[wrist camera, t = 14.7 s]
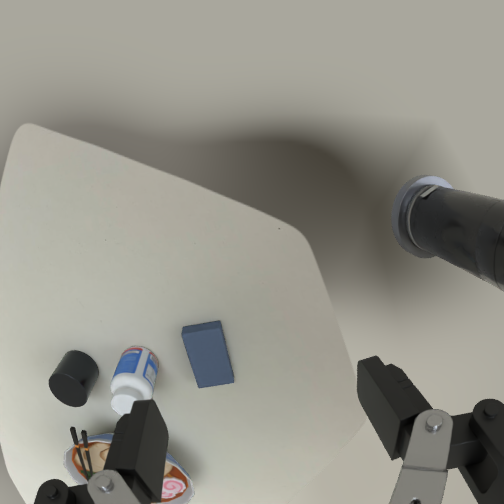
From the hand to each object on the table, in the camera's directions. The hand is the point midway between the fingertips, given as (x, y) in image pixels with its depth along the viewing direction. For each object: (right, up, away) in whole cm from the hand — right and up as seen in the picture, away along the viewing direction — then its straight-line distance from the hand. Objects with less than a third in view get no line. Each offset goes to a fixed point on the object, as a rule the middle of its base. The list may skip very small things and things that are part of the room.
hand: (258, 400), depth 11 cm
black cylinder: (-26, -11, +30) cm, 41 cm away
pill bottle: (-16, -10, +30) cm, 35 cm away
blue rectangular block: (-6, -8, +31) cm, 32 cm away
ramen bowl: (-22, -30, +35) cm, 51 cm away
